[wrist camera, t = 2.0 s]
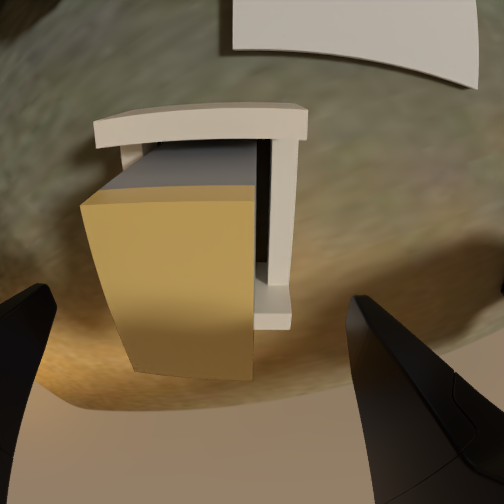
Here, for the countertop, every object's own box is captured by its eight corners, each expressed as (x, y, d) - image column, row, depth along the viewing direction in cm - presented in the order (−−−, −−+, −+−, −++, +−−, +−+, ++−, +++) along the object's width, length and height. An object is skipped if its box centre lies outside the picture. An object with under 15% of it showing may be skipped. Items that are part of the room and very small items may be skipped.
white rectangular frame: (293, 103, 12) (307, 109, 9) (284, 277, 17) (290, 329, 13) (135, 109, 12) (93, 121, 9) (157, 275, 17) (136, 323, 13)
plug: (256, 136, 13) (254, 201, 6) (255, 252, 16) (252, 381, 9) (169, 138, 13) (79, 205, 6) (180, 251, 16) (134, 371, 9)
